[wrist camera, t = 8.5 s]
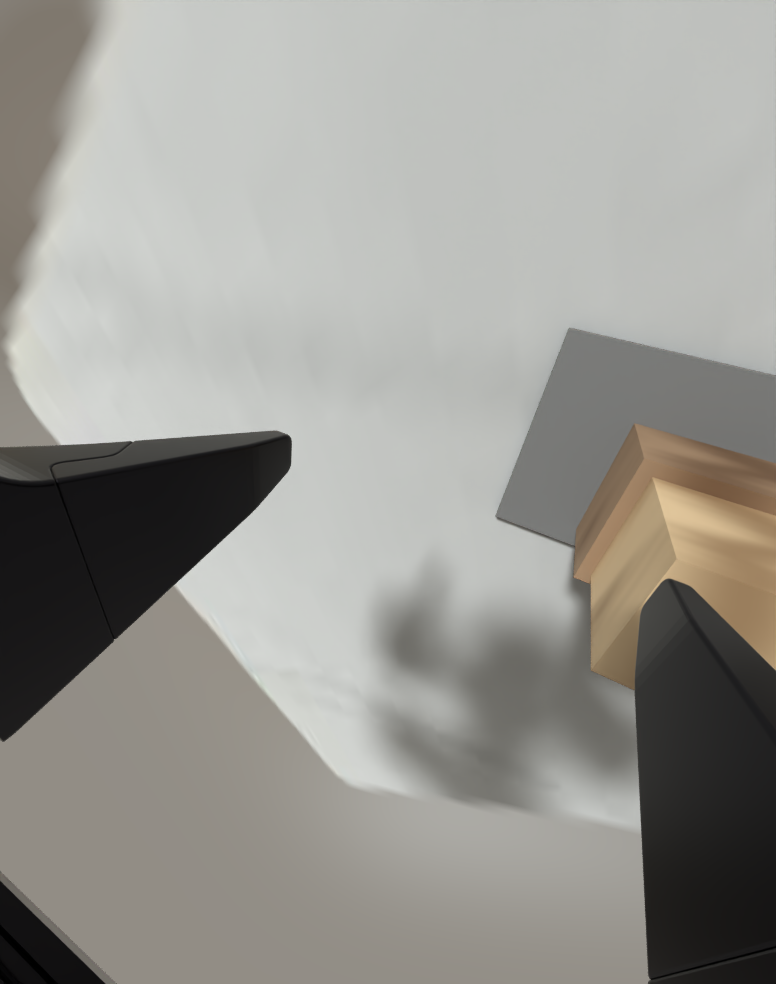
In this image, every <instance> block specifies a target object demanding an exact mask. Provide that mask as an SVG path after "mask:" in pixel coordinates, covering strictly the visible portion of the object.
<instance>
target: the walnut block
mask: <svg viewBox="0 0 776 984" xmlns="http://www.w3.org/2000/svg"><path fill="white" fill-rule="evenodd" d="M652 477H654V478H657V479H660V480H663V481H666V482H670V483H673V484H676V485H679V486H682V487H685V488H689V489H692V490H695V491H698V492H701V493H705V494H708V495H711V496H714V497H717V498H721V499H724V500H727V501H730V502H733V503H737V504H740V505H743V506H746V507H749V508H752V509H756V510H759V511H762V512H765V513H768V514H772V515H775V516H776V463H773V462H769V461H766V460H762V459H759V458H755V457H752V456H748V455H745V454H741V453H738V452H734V451H731V450H727V449H724V448H720V447H717V446H713V445H710V444H706V443H702V442H699V441H695V440H692V439H688V438H685V437H681V436H678V435H674V434H671V433H667V432H664V431H660V430H657V429H653V428H650V427H646V426H643V425H639V424H636V423H634V425H633V426H632V428H631V430H630V432H629V434H628V436H627V437H626V439H625V441H624V443H623V445H622V446H621V448H620V450H619V452H618V454H617V456H616V457H615V459H614V461H613V463H612V465H611V467H610V468H609V470H608V472H607V474H606V476H605V478H604V479H603V481H602V483H601V485H600V487H599V488H598V490H597V492H596V494H595V496H594V498H593V499H592V501H591V503H590V505H589V507H588V509H587V510H586V512H585V514H584V516H583V518H582V520H581V521H580V523H579V525H578V527H577V529H576V541H575V558H574V576H573V577H574V578H576V579H579V580H581V581H584V582H586V583H589V584H591V575H592V573H593V571H594V570H595V568H596V567H597V565H598V563H599V562H600V560H601V559H602V557H603V555H604V554H605V552H606V551H607V549H608V547H609V546H610V544H611V543H612V541H613V539H614V538H615V536H616V535H617V533H618V531H619V530H620V528H621V527H622V525H623V523H624V522H625V520H626V519H627V517H628V515H629V514H630V512H631V511H632V509H633V507H634V506H635V504H636V503H637V501H638V499H639V498H640V496H641V495H642V493H643V491H644V490H645V488H646V487H647V485H648V483H649V482H650V480H651V479H652Z"/></svg>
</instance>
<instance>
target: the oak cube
mask: <svg viewBox="0 0 776 984" xmlns="http://www.w3.org/2000/svg"><path fill="white" fill-rule="evenodd" d="M669 578H670V579H674V580H676V581H679V582H682V583H684V584H687V585H689V586H691V587H692V588H693V589H694V590H695V591H696V592H697V593H698V594H699V595H700V596H701V597H702V598H703V599H704V600H705V601H706V602H707V603H708V604H709V605H710V606H711V607H712V608H713V609H714V610H715V611H716V612H717V613H718V614H719V615H720V616H721V617H722V618H723V619H725V620H726V621H727V622H728V623H729V624H730V625H731V626H732V627H733V628H734V629H735V630H736V631H737V632H738V633H739V634H740V635H741V636H742V637H743V638H744V639H745V640H746V641H747V642H748V643H749V644H750V645H751V646H752V647H753V648H754V649H755V650H756V651H757V652H758V653H759V654H760V655H761V656H762V657H763V658H764V659H765V660H766V661H767V662H768V663H769V664H770V665H771V666H772V667H773V668H774V669H775V670H776V516H775V515H772V514H768V513H765V512H762V511H759V510H756V509H752V508H749V507H746V506H743V505H740V504H737V503H733V502H730V501H727V500H724V499H721V498H717V497H714V496H711V495H708V494H705V493H701V492H698V491H695V490H692V489H689V488H685V487H682V486H679V485H676V484H673V483H670V482H666V481H663V480H660V479H657V478H654V477H652V479H651V480H650V482H649V483H648V485H647V487H646V488H645V490H644V491H643V493H642V495H641V496H640V498H639V499H638V501H637V503H636V504H635V506H634V507H633V509H632V511H631V512H630V514H629V515H628V517H627V519H626V520H625V522H624V523H623V525H622V527H621V528H620V530H619V531H618V533H617V535H616V536H615V538H614V539H613V541H612V543H611V544H610V546H609V547H608V549H607V551H606V552H605V554H604V555H603V557H602V559H601V560H600V562H599V563H598V565H597V567H596V568H595V570H594V571H593V573H592V575H591V671H593V672H595V673H597V674H600V675H602V676H604V677H606V678H608V679H611V680H613V681H615V682H617V683H619V684H622V685H624V686H626V687H628V688H630V689H633V690H635V666H636V654H637V643H638V632H639V621H640V613H641V610H642V607H643V606H644V604H645V603H646V601H647V600H648V599H649V597H650V596H651V595H652V594H653V592H654V591H655V590H656V588H657V587H658V586H659V585H660V583H661V582H662V581H664V580H665V579H669Z"/></svg>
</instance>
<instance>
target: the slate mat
mask: <svg viewBox="0 0 776 984" xmlns="http://www.w3.org/2000/svg"><path fill="white" fill-rule="evenodd" d="M634 423H636V424H639V425H643V426H646V427H650V428H653V429H657V430H660V431H664V432H667V433H671V434H674V435H678V436H681V437H685V438H688V439H692V440H695V441H699V442H702V443H706V444H710V445H713V446H717V447H720V448H724V449H727V450H731V451H734V452H738V453H741V454H745V455H748V456H752V457H755V458H759V459H762V460H766V461H769V462H773V463H776V376H775V375H771V374H767V373H762V372H758V371H754V370H750V369H745V368H741V367H737V366H732V365H728V364H724V363H719V362H715V361H711V360H706V359H702V358H698V357H693V356H689V355H685V354H681V353H676V352H672V351H668V350H663V349H659V348H655V347H650V346H646V345H642V344H637V343H633V342H629V341H625V340H620V339H616V338H612V337H607V336H603V335H599V334H594V333H590V332H586V331H581V330H577V329H573V328H569V329H568V332H567V334H566V337H565V339H564V342H563V344H562V347H561V349H560V352H559V355H558V357H557V360H556V362H555V365H554V367H553V370H552V372H551V375H550V378H549V380H548V383H547V385H546V388H545V390H544V393H543V396H542V398H541V401H540V403H539V406H538V408H537V411H536V413H535V416H534V419H533V421H532V424H531V426H530V429H529V431H528V434H527V436H526V439H525V442H524V444H523V447H522V449H521V452H520V454H519V457H518V460H517V462H516V465H515V467H514V470H513V472H512V475H511V477H510V480H509V483H508V485H507V488H506V490H505V493H504V495H503V498H502V501H501V503H500V506H499V508H498V511H497V513H496V517H499V518H501V519H504V520H507V521H509V522H512V523H515V524H517V525H520V526H523V527H525V528H528V529H531V530H533V531H536V532H538V533H541V534H544V535H546V536H549V537H552V538H554V539H557V540H560V541H562V542H565V543H568V544H570V545H573V546H575V541H576V529H577V527H578V525H579V523H580V521H581V520H582V518H583V516H584V514H585V512H586V510H587V509H588V507H589V505H590V503H591V501H592V499H593V498H594V496H595V494H596V492H597V490H598V488H599V487H600V485H601V483H602V481H603V479H604V478H605V476H606V474H607V472H608V470H609V468H610V467H611V465H612V463H613V461H614V459H615V457H616V456H617V454H618V452H619V450H620V448H621V446H622V445H623V443H624V441H625V439H626V437H627V436H628V434H629V432H630V430H631V428H632V426H633V425H634Z"/></svg>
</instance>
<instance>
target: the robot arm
mask: <svg viewBox="0 0 776 984" xmlns="http://www.w3.org/2000/svg"><path fill="white" fill-rule="evenodd" d="M291 451H292V440H291V437H290V436H289V435H287V434H285V433H282V432H279V431H263V432H249V433H236V434H222V435H209V436H195V437H182V438H168V439H154V440H141V441H134V442H131V441H127V442H113V443H97V444H78V445H55V446H26V447H0V740H1V741H2V742H4V741H6V740H7V739H8V738H9V737H11V736H12V735H13V734H14V733H16V732H17V731H18V730H19V729H20V728H21V727H22V726H23V725H24V724H25V723H27V722H28V720H30V719H31V718H32V717H33V716H34V715H35V714H36V713H37V712H38V711H39V710H40V709H42V708H43V707H44V706H45V705H46V704H47V703H48V702H49V701H50V700H51V699H52V698H53V697H54V696H56V694H57V693H59V691H61V690H62V689H63V688H64V687H65V686H66V685H67V684H68V683H70V682H71V681H72V680H73V679H74V678H75V677H76V676H77V675H78V674H79V673H80V672H81V671H82V670H83V669H85V668H86V667H87V666H88V665H89V664H90V663H91V662H92V661H93V660H94V659H95V658H96V657H98V656H99V654H101V653H102V652H103V651H104V650H105V649H106V648H107V647H108V646H109V645H110V644H111V643H113V641H114V639H116V638H118V636H120V635H121V634H122V633H123V632H124V631H125V630H126V629H127V628H128V627H129V626H131V625H132V624H133V623H134V622H135V621H136V620H137V619H138V618H139V617H140V616H141V615H142V614H143V613H145V612H146V611H147V610H148V609H149V608H150V607H151V606H152V605H153V604H154V603H155V602H156V601H157V600H159V599H160V598H161V597H162V596H163V595H164V594H165V593H166V592H167V591H168V590H169V589H170V588H171V587H173V586H174V585H175V584H176V583H177V582H178V581H179V580H180V579H181V578H182V577H183V576H184V575H185V574H187V573H188V572H189V571H190V570H191V569H192V568H193V567H194V566H195V565H196V564H197V563H198V562H199V561H201V560H202V559H203V558H204V557H205V556H206V555H207V554H208V553H209V552H210V551H211V550H212V549H213V548H215V547H216V546H217V545H218V544H219V543H220V542H221V541H222V540H223V539H224V538H225V537H226V536H227V535H229V534H230V533H231V532H232V531H233V530H234V529H235V528H236V527H237V526H238V525H239V524H240V523H241V522H243V521H244V520H245V519H246V518H247V517H248V516H249V515H250V514H251V513H252V512H253V511H254V510H255V509H256V508H257V507H258V506H259V505H260V504H261V502H262V501H263V500H264V499H265V498H266V497H267V496H268V494H269V493H270V492H271V491H272V490H273V489H274V487H275V486H276V485H277V484H278V483H279V482H280V481H281V479H282V478H283V477H284V476H285V475H286V474H287V472H288V471H289V469H290V466H291ZM635 707H636V728H637V750H638V771H639V792H640V813H641V834H642V855H643V874H644V875H643V876H644V897H645V917H646V938H647V959H648V976H649V978H650V979H651V980H650V981H649V982H648V984H776V670H775V669H774V668H773V667H772V666H771V665H770V664H769V663H768V662H767V661H766V660H765V659H764V658H763V657H762V656H761V655H760V654H759V653H758V652H757V651H756V650H755V649H754V648H753V647H752V646H751V645H750V644H749V643H748V642H747V641H746V640H745V639H744V638H743V637H742V636H741V635H740V634H739V633H738V632H737V631H736V630H735V629H734V628H733V627H732V626H731V625H730V624H729V623H728V622H727V621H726V620H725V619H723V618H722V617H721V616H720V615H719V614H718V613H717V612H716V611H715V610H714V609H713V608H712V607H711V606H710V605H709V604H708V603H707V602H706V601H705V600H704V599H703V598H702V597H701V596H700V595H699V594H698V593H697V592H696V591H695V590H694V589H693V588H692V587H691V586H689V585H687V584H684V583H682V582H679V581H676V580H674V579H670V578H669V579H665V580H664V581H662V582H661V583H660V585H659V586H658V587H657V588H656V590H655V591H654V592H653V594H652V595H651V596H650V597H649V599H648V600H647V601H646V603H645V604H644V606H643V607H642V610H641V613H640V621H639V632H638V643H637V654H636V666H635ZM0 984H117V983H115V982H114V981H113V980H112V979H111V978H110V977H109V976H108V975H107V974H106V973H105V972H104V971H103V970H102V969H101V968H100V967H99V966H98V965H97V964H96V963H95V962H94V961H93V960H92V959H91V958H90V957H88V955H86V954H85V953H84V952H83V951H82V950H81V949H80V948H79V947H78V946H77V945H76V944H75V943H74V942H73V941H72V940H71V939H70V938H69V937H68V936H67V935H66V934H65V933H64V932H63V931H62V930H61V929H60V928H58V927H57V926H56V925H55V924H54V923H53V922H52V921H51V920H50V919H49V918H48V917H47V916H46V915H45V914H44V913H43V912H42V911H41V910H40V909H39V908H38V907H37V906H36V905H35V904H34V903H33V902H31V900H29V899H28V898H27V897H26V896H25V895H24V894H23V893H22V892H21V891H20V890H19V889H18V888H17V887H16V886H15V885H14V884H13V883H12V882H11V881H10V880H9V879H8V878H7V877H5V875H4V874H2V873H1V872H0Z"/></svg>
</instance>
